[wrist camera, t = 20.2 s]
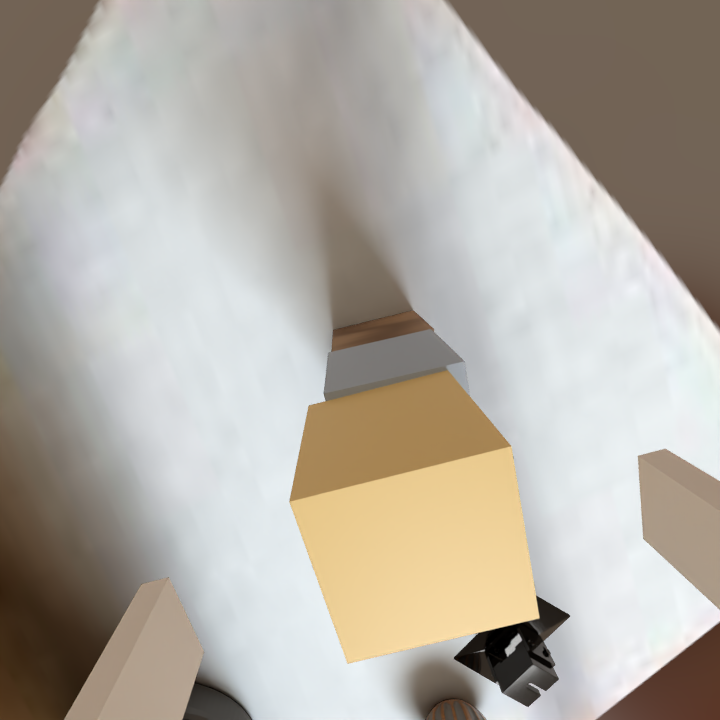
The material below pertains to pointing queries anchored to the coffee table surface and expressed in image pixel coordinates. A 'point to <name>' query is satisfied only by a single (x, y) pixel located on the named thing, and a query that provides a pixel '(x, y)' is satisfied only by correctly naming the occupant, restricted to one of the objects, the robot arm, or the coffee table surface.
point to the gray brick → (390, 364)
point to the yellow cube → (411, 517)
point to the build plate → (517, 654)
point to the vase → (454, 711)
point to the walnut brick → (378, 330)
